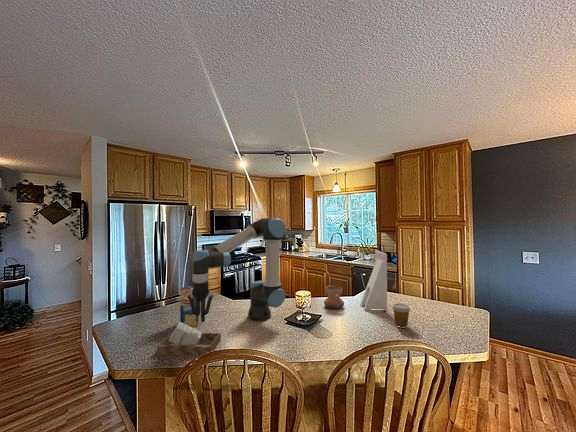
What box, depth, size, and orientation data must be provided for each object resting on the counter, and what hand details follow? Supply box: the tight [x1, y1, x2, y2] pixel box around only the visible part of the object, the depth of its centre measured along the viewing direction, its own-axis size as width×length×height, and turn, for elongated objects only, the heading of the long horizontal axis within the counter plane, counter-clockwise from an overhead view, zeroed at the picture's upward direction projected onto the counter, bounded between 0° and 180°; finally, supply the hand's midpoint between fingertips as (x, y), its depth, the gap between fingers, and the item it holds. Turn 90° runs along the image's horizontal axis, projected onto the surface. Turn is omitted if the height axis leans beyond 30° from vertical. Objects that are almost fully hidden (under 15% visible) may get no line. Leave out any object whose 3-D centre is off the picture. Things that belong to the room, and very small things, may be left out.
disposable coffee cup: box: [392, 303, 411, 327], centre depth 151 cm, size 10×10×12 cm
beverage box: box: [179, 285, 201, 327], centre depth 157 cm, size 7×11×22 cm, turn 86°
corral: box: [156, 331, 222, 357], centre depth 128 cm, size 26×15×4 cm, turn 87°
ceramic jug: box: [323, 285, 345, 310], centre depth 185 cm, size 18×14×14 cm
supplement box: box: [169, 321, 203, 346], centre depth 126 cm, size 7×7×13 cm
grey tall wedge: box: [359, 249, 388, 312], centre depth 183 cm, size 20×14×40 cm
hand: (200, 328), depth 128 cm, fingers closed
